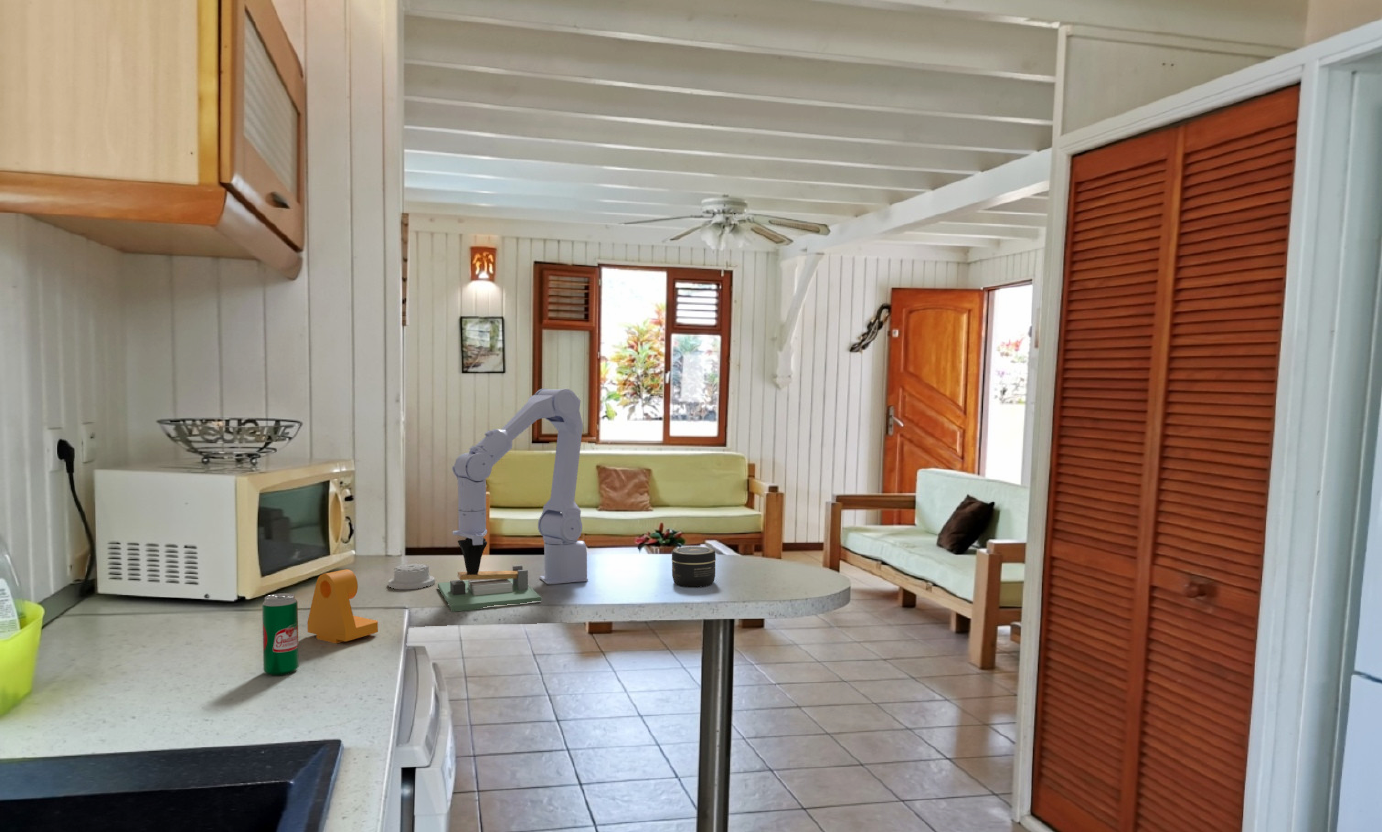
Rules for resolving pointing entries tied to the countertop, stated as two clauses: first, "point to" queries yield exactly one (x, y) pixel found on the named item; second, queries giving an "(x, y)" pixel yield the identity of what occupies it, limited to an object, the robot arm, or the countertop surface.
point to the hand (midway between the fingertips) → (472, 573)
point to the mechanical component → (411, 577)
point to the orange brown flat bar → (488, 575)
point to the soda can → (280, 634)
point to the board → (488, 592)
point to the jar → (693, 566)
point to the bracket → (337, 609)
